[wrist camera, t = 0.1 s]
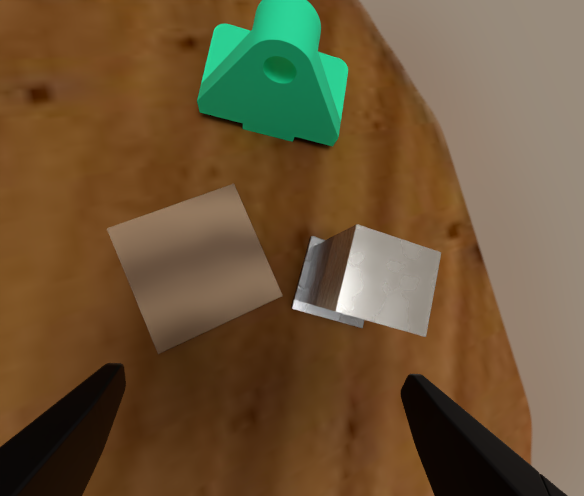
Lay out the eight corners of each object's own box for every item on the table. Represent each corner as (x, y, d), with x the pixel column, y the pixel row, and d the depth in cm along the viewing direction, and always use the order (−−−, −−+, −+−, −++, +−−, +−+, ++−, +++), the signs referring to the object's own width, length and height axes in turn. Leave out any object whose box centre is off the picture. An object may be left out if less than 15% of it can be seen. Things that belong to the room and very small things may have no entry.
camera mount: (339, 82, 28) (395, -32, 18) (328, 151, 27) (382, 71, 17) (218, 46, 26) (205, -104, 16) (201, 119, 25) (175, 7, 15)
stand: (280, 295, 24) (282, 295, 22) (163, 349, 22) (158, 354, 20) (234, 189, 24) (233, 183, 23) (115, 232, 22) (106, 228, 20)
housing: (359, 327, 25) (431, 352, 16) (290, 308, 24) (323, 323, 15) (375, 257, 26) (450, 243, 17) (310, 237, 25) (351, 209, 16)
